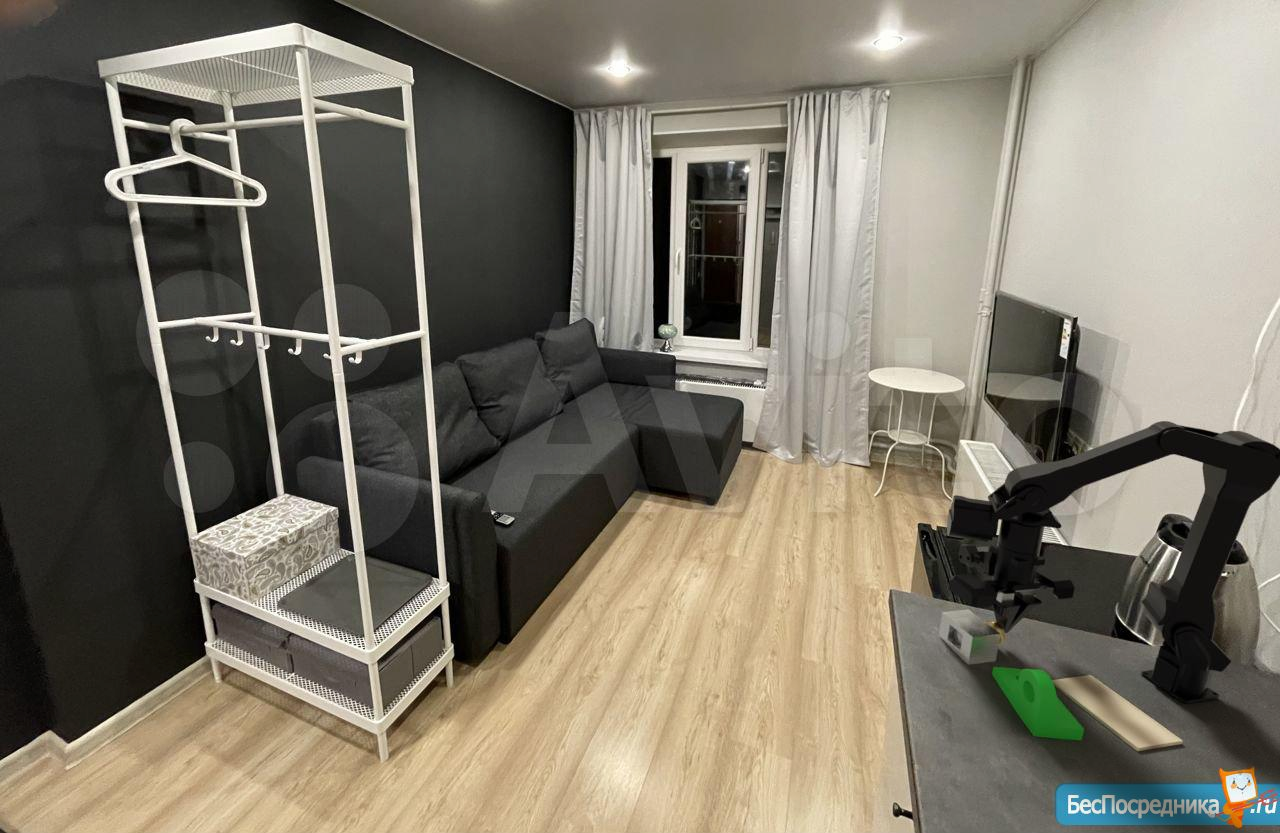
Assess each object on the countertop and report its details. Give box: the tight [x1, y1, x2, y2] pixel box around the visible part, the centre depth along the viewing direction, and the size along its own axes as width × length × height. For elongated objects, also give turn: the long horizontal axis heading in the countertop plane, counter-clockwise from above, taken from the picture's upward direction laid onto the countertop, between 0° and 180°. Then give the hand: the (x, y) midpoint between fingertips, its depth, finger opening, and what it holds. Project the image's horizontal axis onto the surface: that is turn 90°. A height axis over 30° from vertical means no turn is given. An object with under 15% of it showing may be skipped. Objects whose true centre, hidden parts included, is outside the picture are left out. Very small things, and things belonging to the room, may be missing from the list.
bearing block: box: [938, 609, 1000, 665], centre depth 94 cm, size 5×7×6 cm
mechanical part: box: [991, 666, 1085, 742], centre depth 82 cm, size 12×6×8 cm, turn 173°
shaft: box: [954, 620, 1006, 645], centre depth 95 cm, size 7×4×4 cm, turn 100°
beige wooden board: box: [1052, 674, 1184, 752], centre depth 82 cm, size 7×13×1 cm, turn 10°
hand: (1002, 631), depth 96 cm, fingers closed
